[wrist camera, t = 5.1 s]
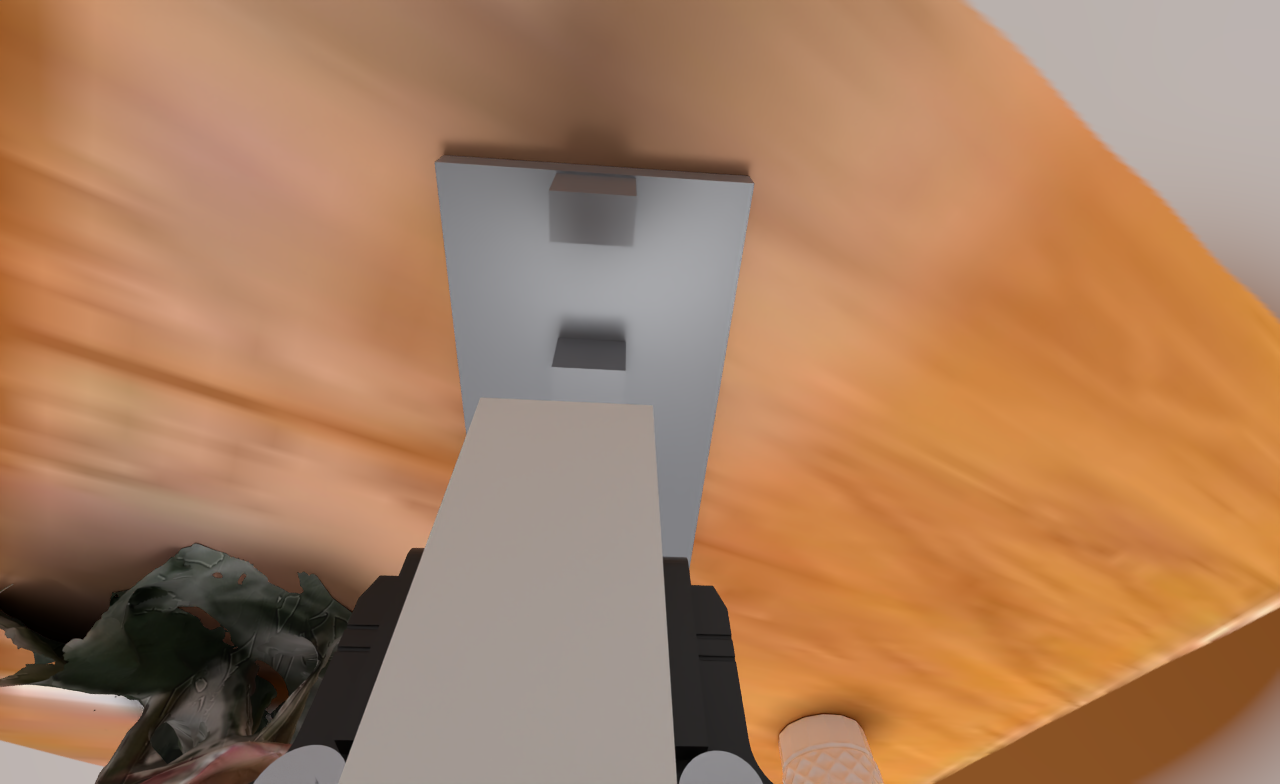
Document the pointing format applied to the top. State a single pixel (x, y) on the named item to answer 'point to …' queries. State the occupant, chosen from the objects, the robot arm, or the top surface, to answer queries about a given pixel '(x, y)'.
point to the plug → (533, 613)
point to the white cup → (827, 752)
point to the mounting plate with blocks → (599, 297)
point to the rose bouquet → (196, 667)
